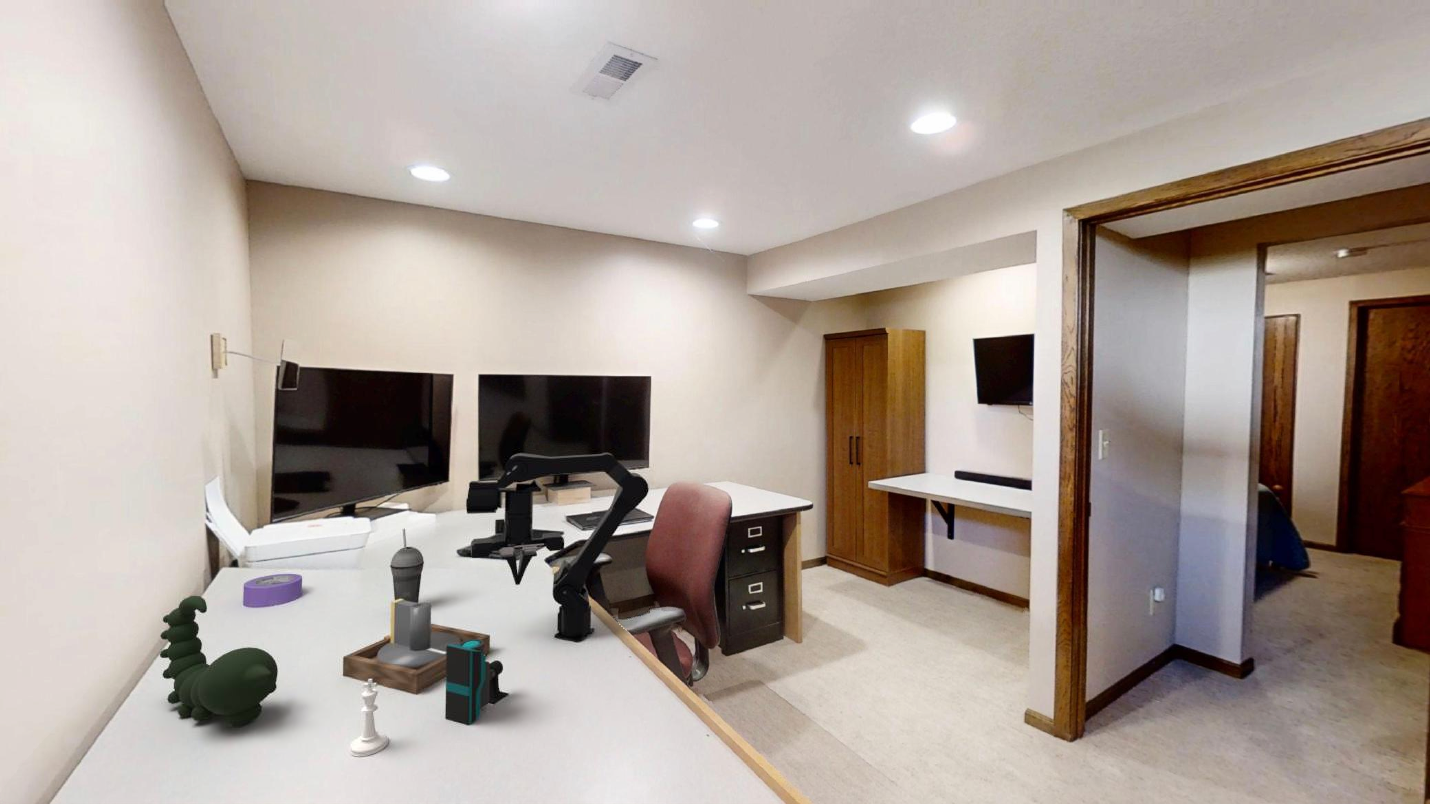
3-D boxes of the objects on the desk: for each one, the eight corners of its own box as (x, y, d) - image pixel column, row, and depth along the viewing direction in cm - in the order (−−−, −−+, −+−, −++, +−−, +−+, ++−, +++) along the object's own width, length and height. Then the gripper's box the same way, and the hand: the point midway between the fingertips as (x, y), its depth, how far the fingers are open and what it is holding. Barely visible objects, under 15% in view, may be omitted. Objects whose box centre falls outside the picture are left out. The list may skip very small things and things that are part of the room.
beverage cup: (408, 618, 133) (410, 533, 133) (381, 615, 134) (383, 531, 134) (430, 607, 140) (431, 526, 140) (404, 605, 141) (405, 525, 141)
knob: (476, 647, 115) (477, 599, 115) (414, 678, 101) (415, 625, 101) (425, 634, 120) (425, 589, 120) (359, 662, 107) (360, 612, 107)
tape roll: (292, 589, 152) (292, 570, 152) (309, 598, 145) (309, 579, 145) (236, 601, 142) (236, 581, 142) (251, 612, 136) (252, 591, 136)
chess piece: (360, 737, 87) (361, 672, 87) (394, 736, 87) (395, 671, 87) (342, 757, 82) (343, 688, 82) (377, 756, 82) (379, 687, 82)
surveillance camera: (514, 627, 99) (471, 651, 90) (513, 696, 99) (470, 726, 90) (488, 622, 101) (444, 645, 92) (487, 689, 101) (443, 718, 92)
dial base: (490, 651, 116) (490, 632, 116) (416, 694, 99) (416, 672, 99) (422, 637, 123) (423, 619, 123) (341, 675, 105) (342, 654, 105)
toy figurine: (141, 723, 92) (236, 747, 83) (137, 603, 93) (231, 613, 83) (212, 694, 101) (305, 714, 91) (208, 585, 102) (300, 593, 92)
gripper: (556, 503, 134) (555, 569, 134) (470, 508, 126) (469, 578, 126) (565, 512, 123) (563, 583, 123) (472, 518, 116) (470, 594, 116)
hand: (517, 584), depth 122 cm, fingers closed
